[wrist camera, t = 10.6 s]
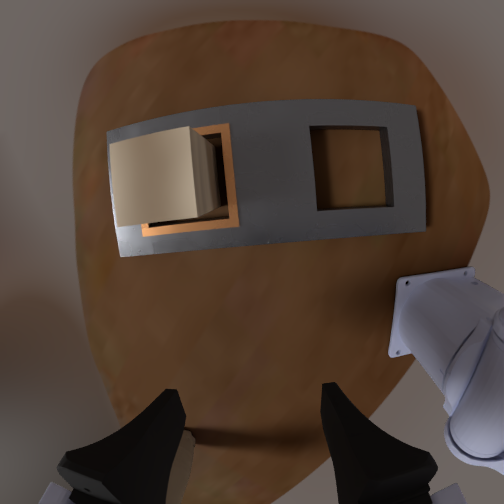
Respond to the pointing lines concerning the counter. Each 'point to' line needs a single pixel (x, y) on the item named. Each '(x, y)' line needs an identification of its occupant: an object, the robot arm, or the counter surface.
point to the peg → (164, 177)
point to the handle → (181, 469)
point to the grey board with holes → (286, 175)
